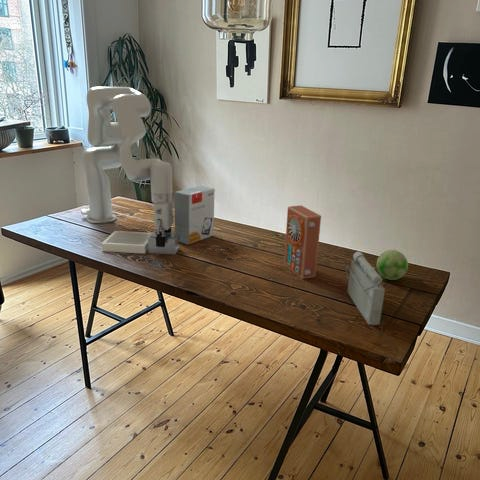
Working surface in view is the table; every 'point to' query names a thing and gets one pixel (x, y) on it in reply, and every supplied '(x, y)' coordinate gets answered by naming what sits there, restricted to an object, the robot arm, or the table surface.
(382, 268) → the decorative ball
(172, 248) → the block
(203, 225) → the hard drive box
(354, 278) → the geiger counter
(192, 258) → the table surface
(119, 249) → the white shallow square tray
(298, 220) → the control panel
